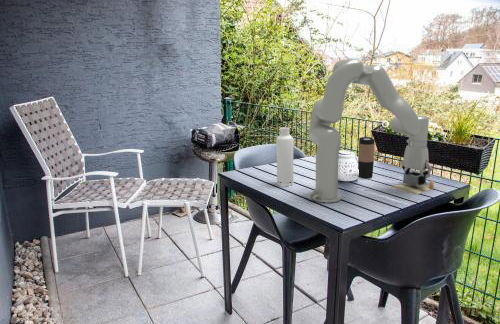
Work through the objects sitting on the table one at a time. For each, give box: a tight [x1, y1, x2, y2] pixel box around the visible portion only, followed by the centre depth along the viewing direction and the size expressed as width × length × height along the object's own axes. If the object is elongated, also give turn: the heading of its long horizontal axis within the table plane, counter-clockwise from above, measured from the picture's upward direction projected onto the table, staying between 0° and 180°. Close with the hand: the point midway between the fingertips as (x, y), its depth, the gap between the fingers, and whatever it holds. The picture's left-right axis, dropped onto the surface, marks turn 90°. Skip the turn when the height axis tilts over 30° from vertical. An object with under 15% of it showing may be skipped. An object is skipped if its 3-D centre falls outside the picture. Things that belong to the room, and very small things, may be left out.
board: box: [390, 183, 436, 195], centre depth 175 cm, size 15×13×1 cm
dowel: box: [428, 180, 435, 190], centre depth 172 cm, size 2×2×4 cm
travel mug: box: [357, 136, 376, 179], centre depth 195 cm, size 8×8×20 cm
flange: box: [402, 170, 431, 186], centre depth 176 cm, size 13×7×4 cm, turn 122°
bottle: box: [275, 126, 294, 187], centre depth 186 cm, size 8×8×28 cm
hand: (414, 181), depth 175 cm, fingers closed on flange, 6 cm apart
